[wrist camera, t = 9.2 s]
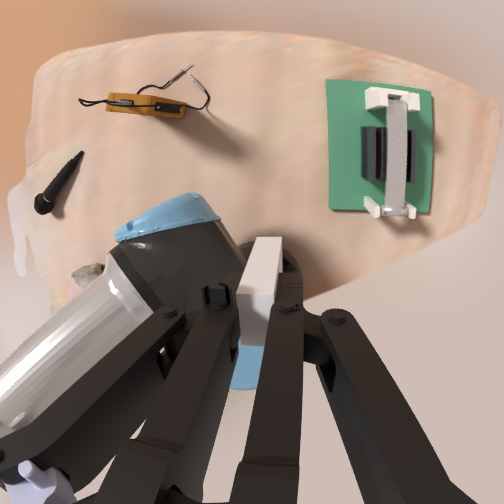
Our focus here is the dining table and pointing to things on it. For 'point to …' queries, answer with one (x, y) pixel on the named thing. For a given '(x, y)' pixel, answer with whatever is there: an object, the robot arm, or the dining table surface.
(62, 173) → the microphone
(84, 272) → the ceramic sculpture
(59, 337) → the robot arm
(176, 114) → the multimeter
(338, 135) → the circuit board
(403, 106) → the clamp bar
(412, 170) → the heat sink
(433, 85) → the dining table surface
